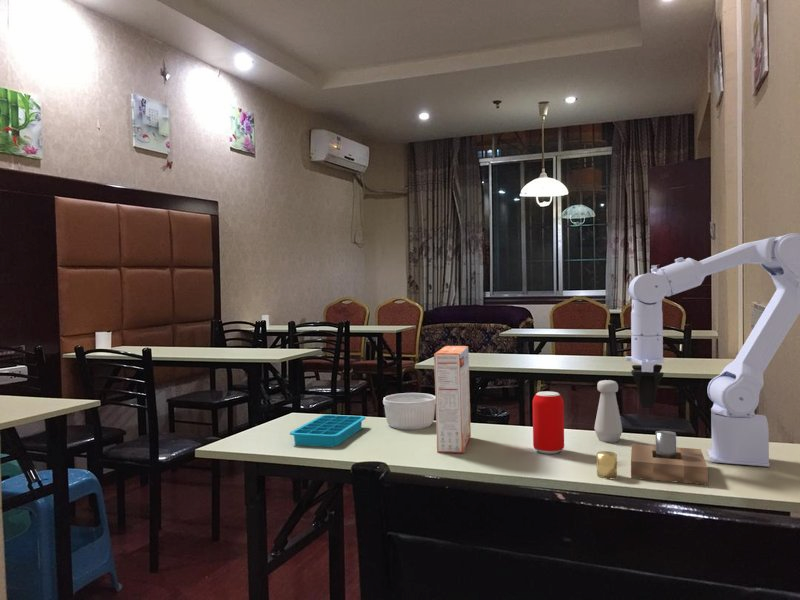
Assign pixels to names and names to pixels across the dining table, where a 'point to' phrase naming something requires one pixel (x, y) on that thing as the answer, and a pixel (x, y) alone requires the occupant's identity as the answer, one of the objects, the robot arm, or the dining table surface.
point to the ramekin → (409, 410)
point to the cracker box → (452, 399)
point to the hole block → (669, 465)
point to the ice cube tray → (327, 430)
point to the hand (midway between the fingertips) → (647, 404)
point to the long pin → (665, 444)
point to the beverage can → (548, 422)
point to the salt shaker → (608, 413)
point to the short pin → (606, 464)
